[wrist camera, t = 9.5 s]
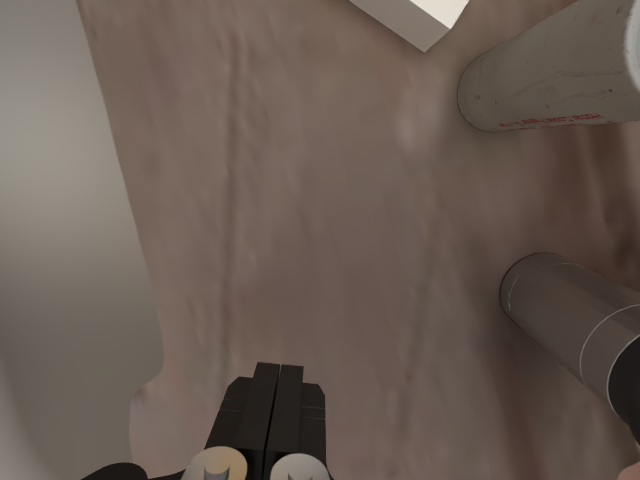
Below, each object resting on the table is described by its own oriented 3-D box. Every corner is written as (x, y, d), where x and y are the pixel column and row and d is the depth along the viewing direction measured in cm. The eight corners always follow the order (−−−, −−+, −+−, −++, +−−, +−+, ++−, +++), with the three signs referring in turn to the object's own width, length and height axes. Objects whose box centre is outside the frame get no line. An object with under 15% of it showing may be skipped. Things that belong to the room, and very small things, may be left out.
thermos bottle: (525, 134, 40) (957, 113, 13) (451, 128, 40) (729, 94, 13) (541, 53, 38) (1094, -174, 11) (464, 46, 38) (826, -201, 11)
